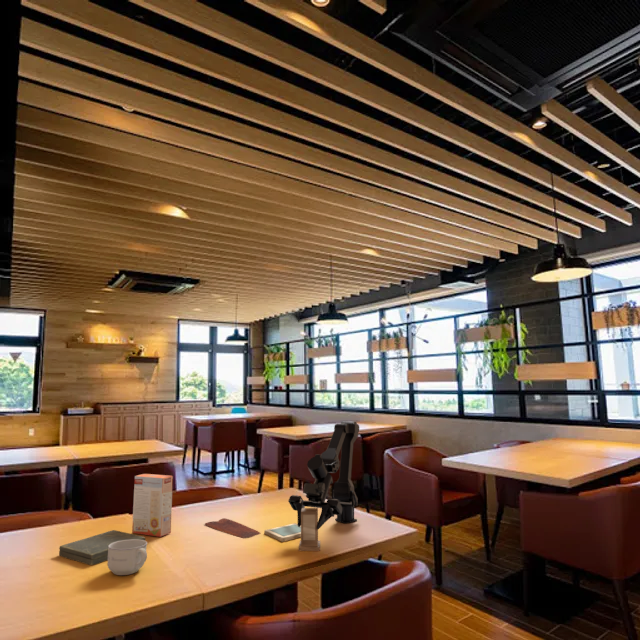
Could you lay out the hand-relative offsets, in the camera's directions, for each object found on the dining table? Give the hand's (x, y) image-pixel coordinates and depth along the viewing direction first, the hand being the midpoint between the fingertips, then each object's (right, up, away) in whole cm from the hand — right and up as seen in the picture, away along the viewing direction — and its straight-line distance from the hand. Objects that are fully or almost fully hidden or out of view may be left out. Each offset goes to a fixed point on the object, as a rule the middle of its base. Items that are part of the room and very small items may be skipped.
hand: (307, 527), depth 157 cm
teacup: (-52, -5, -20) cm, 56 cm away
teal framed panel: (-7, -9, +15) cm, 19 cm away
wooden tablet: (-29, -11, +22) cm, 38 cm away
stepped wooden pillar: (+1, -7, 0) cm, 7 cm away
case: (-68, -8, -1) cm, 69 cm away
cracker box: (-59, -10, +17) cm, 62 cm away
